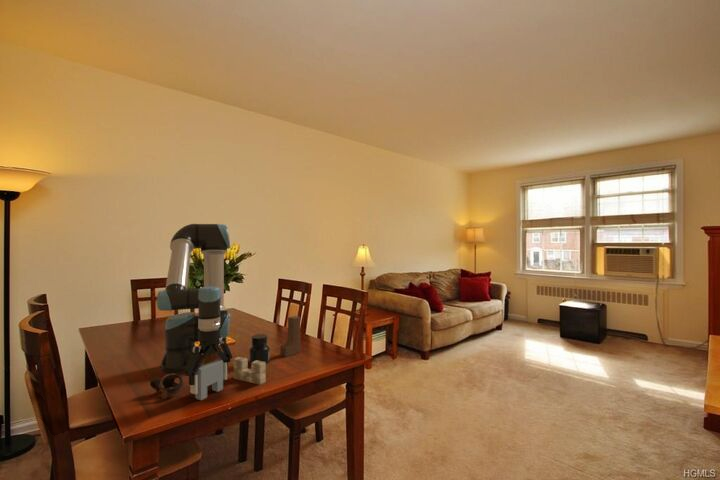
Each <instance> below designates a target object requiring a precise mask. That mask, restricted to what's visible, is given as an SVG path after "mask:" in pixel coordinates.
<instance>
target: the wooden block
mask: <svg viewBox="0 0 720 480" xmlns="http://www.w3.org/2000/svg"><path fill="white" fill-rule="evenodd" d="M279 350H280V351H279V352H280V353H279V354H280V356H282V357H285V358H286V357H289V356H290V357H291V356H294V355H297V354H300V353H301V317H300V316H297V315H293V316H288V318H287V339H286V342H285V343H284V344H282V345H280V348H279Z"/></svg>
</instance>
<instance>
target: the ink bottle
mask: <svg viewBox="0 0 720 480" xmlns="http://www.w3.org/2000/svg"><path fill="white" fill-rule="evenodd" d="M248 353H249V357H248V358H249V360H248V361H249V365H251V363H252V362H254V361H256V360H257V361H262V362H266V364H268V363H270V346H268V335H267V334H264V333H263V334H260V333H259V334H254V335H252V336H251V347H250V348H249V352H248Z"/></svg>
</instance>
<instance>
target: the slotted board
mask: <svg viewBox="0 0 720 480" xmlns="http://www.w3.org/2000/svg"><path fill="white" fill-rule="evenodd" d="M248 358H249V357H248ZM248 358H247V357H241V356H238V357H236V358H234V359H233V379H235V380H239V381H244V382H246V383H247V382H248V383H250V384H251V383H252V384H254V385H260V386H261V385H263V384H265V383H266V381H267V380H266V377H267V376H266V371H267V370H266V367H267V366H266V365H267V363H266V362H262V361H257V360H256V361H254V362H252V363H251V364H250V365H251V368H248V361H249V360H248Z"/></svg>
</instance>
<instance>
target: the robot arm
mask: <svg viewBox="0 0 720 480" xmlns="http://www.w3.org/2000/svg"><path fill="white" fill-rule="evenodd" d="M229 234H230V233H229V228H228V226H227V225H226V224H220V223H191V224H186V225H185V226H183V227H181V228H179V230H178V231H177V232H176V233H175V234H174V235H173V236H172V238H171V239H170V245H169V248H170V251H171V253H170V255H171V256H170V260H169V266H168V272H167V276H166V277H167V278H166V284H165V290H159V292H157V294H156V295H157V296H156V306H157V309H158V310H159V311H161V312H163V311H165V312H166V311H169V312H171V311H181V310H194V309H195V310H197V309H198V311H197V312H198V315H196V314H195V312H193V311H190V312H189V311H187V312H186V311H185V312H181V313H177V314H173V315H171V316H169V317H168V318H166V321H165V325H164V326H165V328H164V332H165V353H164V355H163V357H162V361H161V364H160V370H161V372H163V371H164V373H167V372H169V373H168V374H172V373H173V374H178V373H182V372H183V371H184V372H183V373H182V374H183V376H186V377H188V385H189V386H190V390H189V391H190V394H192V395H195V394H198V375H196V373H197V371H198V369H199V367H200V366H202V365H203V364H202V363H203V362H204V360H205V359H206V358H207V357H208V356H210V355H212V354H216V356H217V357H218V358H219V360H223V381H224V380H225V381H227V379H228V370H229V363H230V362H231V360H232V359H233V354H232V352H231V349H230V348H229V345H228V344H227V337H228V336H229V330H230V321H231V313H230V312H228V309H227V307H225V303H224V302H225V298H224V297H225V295H224V294H225V293H224V292H225V286H224V285H225V284H224V283H225V277H224V276H225V269H224V267H225V265H224V264H225V261H224V260H225V255H226V254H227V253H228V249H230V248H231V243H230V242H231V241H230V235H229ZM194 249H198V250H199V249H200V253H201V255H203V259H204V260H203V261H204V262H203V268H204V269H203V286H202V287H200V288H195V289H188V282H189V273H190V263H191V255H192V254H191V253H193V251H194ZM196 343H199V344H198V345H197V346H196ZM220 347H221V348H220Z"/></svg>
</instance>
